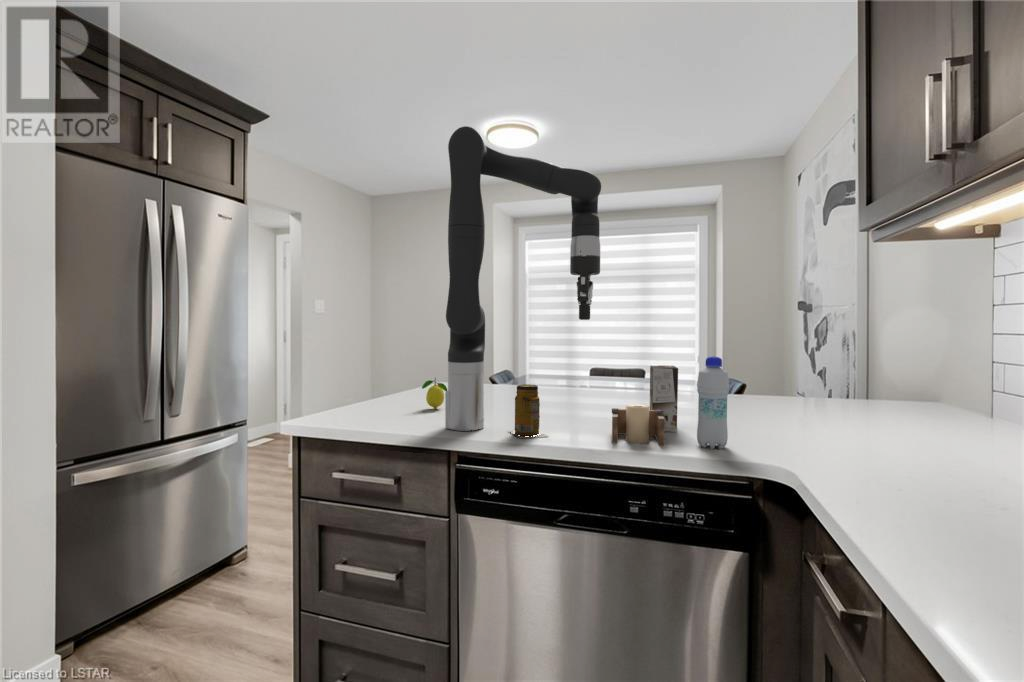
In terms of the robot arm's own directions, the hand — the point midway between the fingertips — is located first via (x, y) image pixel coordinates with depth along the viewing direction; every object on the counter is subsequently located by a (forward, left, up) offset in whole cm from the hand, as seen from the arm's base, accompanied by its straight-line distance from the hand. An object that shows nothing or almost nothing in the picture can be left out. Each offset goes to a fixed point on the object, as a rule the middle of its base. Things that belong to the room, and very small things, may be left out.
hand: (584, 319), depth 128 cm
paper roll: (+13, -10, -28) cm, 33 cm away
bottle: (+29, -12, -28) cm, 42 cm away
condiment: (-13, -9, -28) cm, 33 cm away
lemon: (-48, +20, -28) cm, 59 cm away
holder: (+13, -8, -28) cm, 32 cm away
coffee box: (+20, +6, -28) cm, 35 cm away
